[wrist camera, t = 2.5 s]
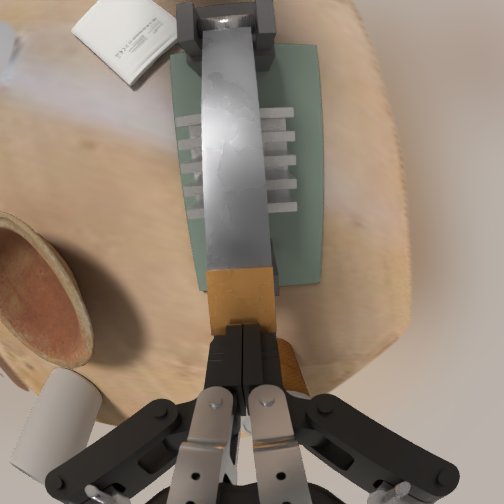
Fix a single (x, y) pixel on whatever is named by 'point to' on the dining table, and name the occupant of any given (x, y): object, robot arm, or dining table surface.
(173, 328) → the dining table surface
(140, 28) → the external hard drive
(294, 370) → the disposable coffee cup
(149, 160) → the dining table surface
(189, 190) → the heatsink
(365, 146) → the dining table surface
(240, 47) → the strap
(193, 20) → the hinge post
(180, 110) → the board
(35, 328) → the bowl
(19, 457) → the cylinder vase
